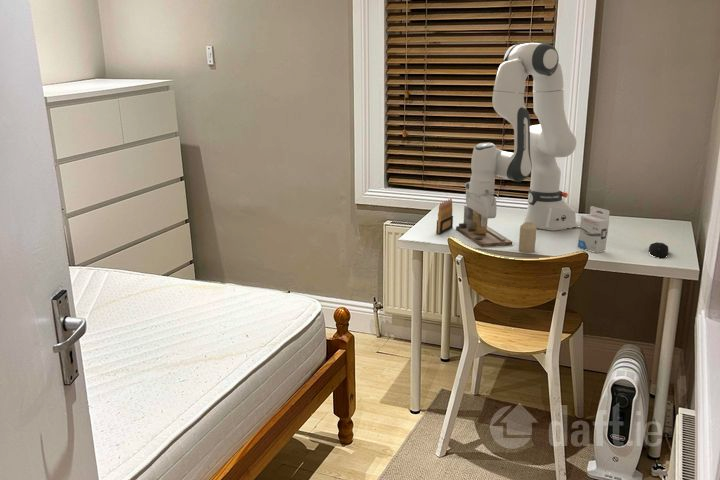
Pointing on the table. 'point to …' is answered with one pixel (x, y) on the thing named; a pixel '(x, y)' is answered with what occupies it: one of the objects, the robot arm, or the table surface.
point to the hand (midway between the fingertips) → (479, 224)
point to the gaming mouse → (658, 249)
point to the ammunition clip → (445, 217)
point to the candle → (527, 237)
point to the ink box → (594, 230)
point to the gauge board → (481, 239)
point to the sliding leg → (478, 224)
